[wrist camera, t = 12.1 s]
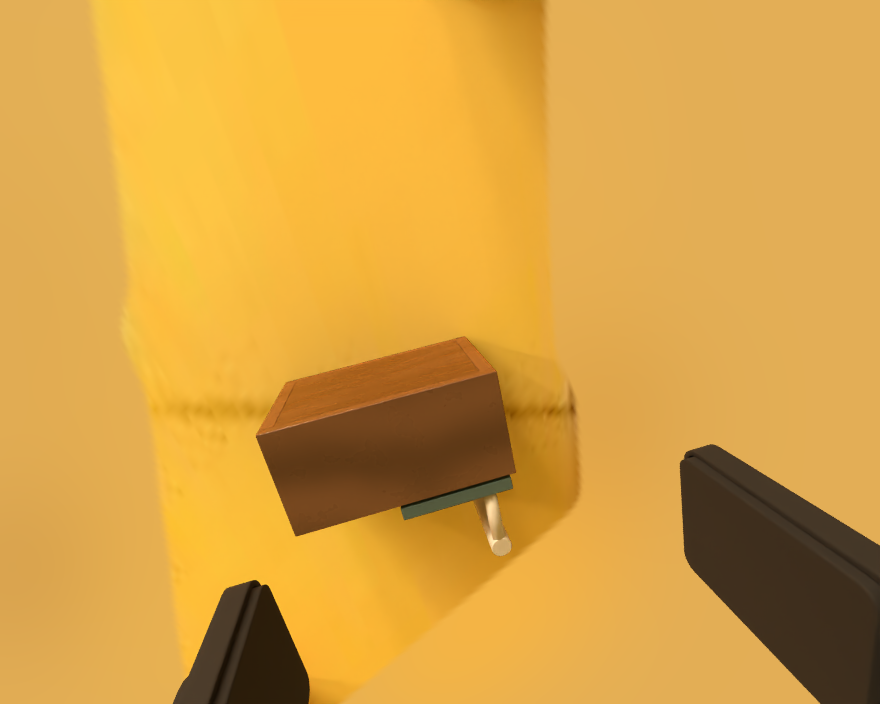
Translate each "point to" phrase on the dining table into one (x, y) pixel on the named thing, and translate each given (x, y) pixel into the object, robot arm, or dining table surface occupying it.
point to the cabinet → (385, 434)
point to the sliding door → (484, 505)
